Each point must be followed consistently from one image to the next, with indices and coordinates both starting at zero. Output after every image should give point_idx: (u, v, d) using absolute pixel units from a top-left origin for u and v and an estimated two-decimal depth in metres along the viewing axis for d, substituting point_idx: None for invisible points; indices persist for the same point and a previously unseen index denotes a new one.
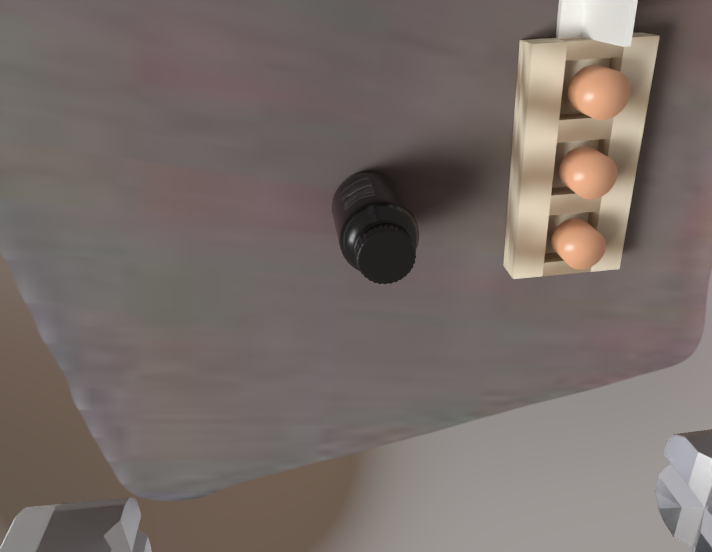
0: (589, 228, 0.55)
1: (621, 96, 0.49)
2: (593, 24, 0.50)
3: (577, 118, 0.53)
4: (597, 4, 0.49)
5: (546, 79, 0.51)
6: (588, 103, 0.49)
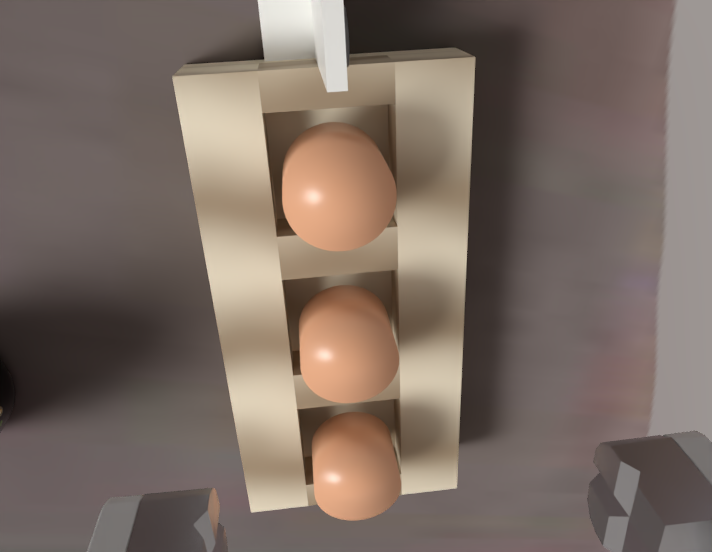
0: (363, 448, 0.27)
1: (376, 200, 0.21)
2: (315, 31, 0.21)
3: None
4: None
5: (226, 154, 0.23)
6: (298, 217, 0.21)
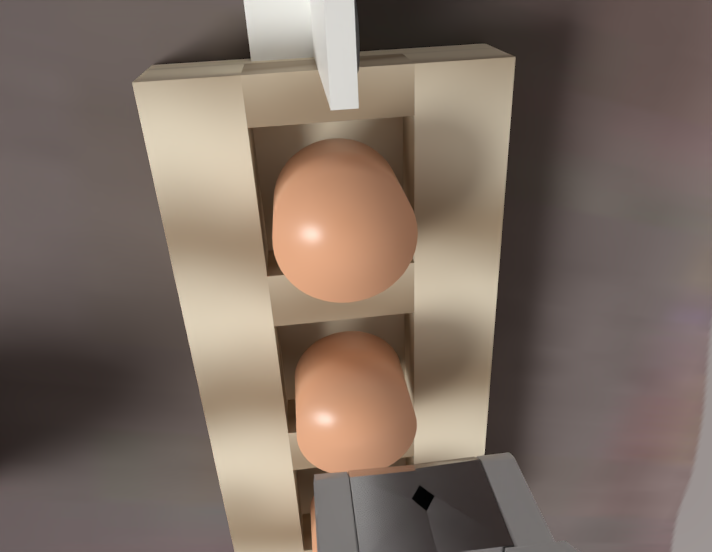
0: None
1: (391, 241, 0.17)
2: (314, 24, 0.17)
3: None
4: None
5: (203, 178, 0.18)
6: (293, 262, 0.17)
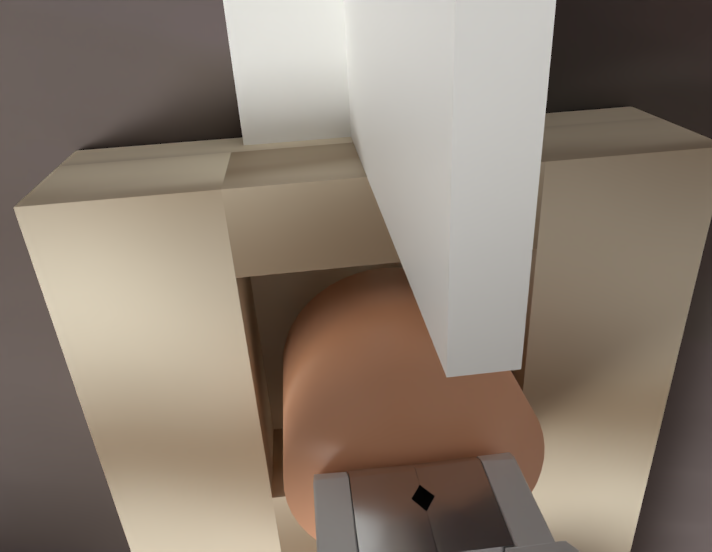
0: None
1: None
2: (361, 94, 0.09)
3: None
4: None
5: (158, 360, 0.10)
6: None
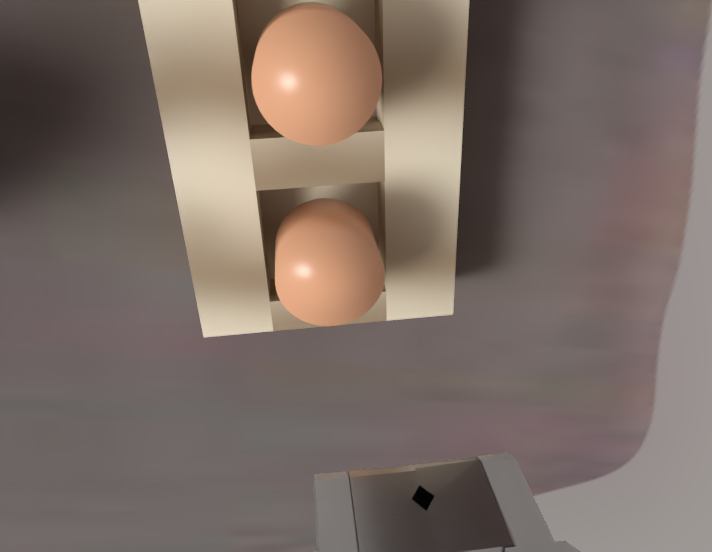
0: (337, 224, 0.21)
1: None
2: None
3: None
4: None
5: None
6: None
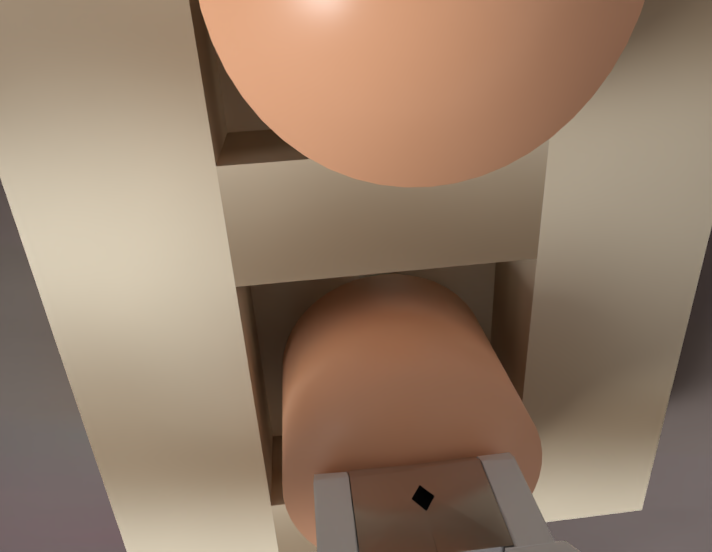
0: (434, 354, 0.09)
1: None
2: None
3: None
4: None
5: None
6: None
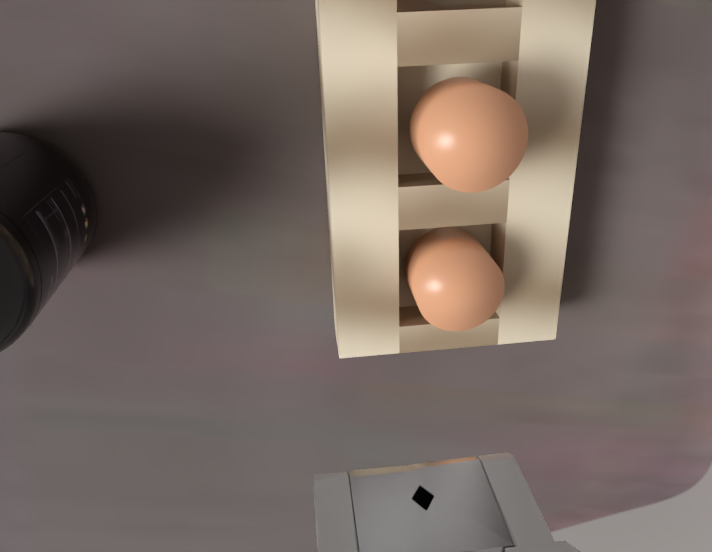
0: (468, 247, 0.26)
1: None
2: None
3: (440, 10, 0.23)
4: None
5: None
6: None
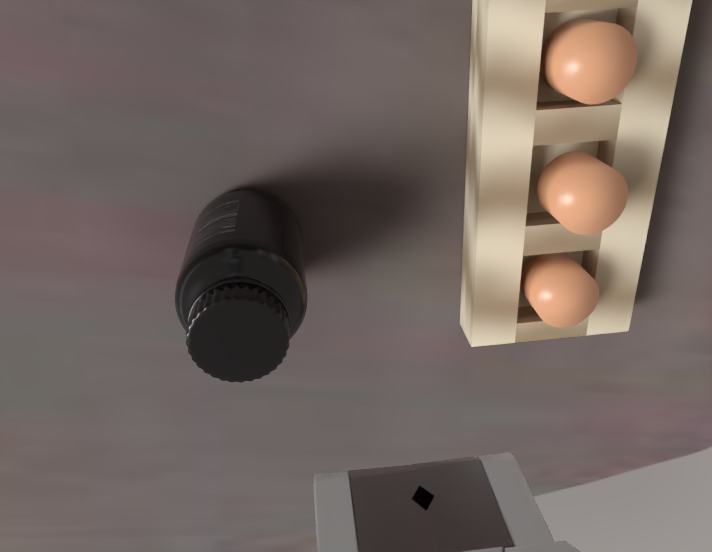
0: (574, 268, 0.37)
1: (622, 66, 0.31)
2: None
3: (565, 107, 0.34)
4: None
5: (514, 44, 0.32)
6: (570, 77, 0.31)
